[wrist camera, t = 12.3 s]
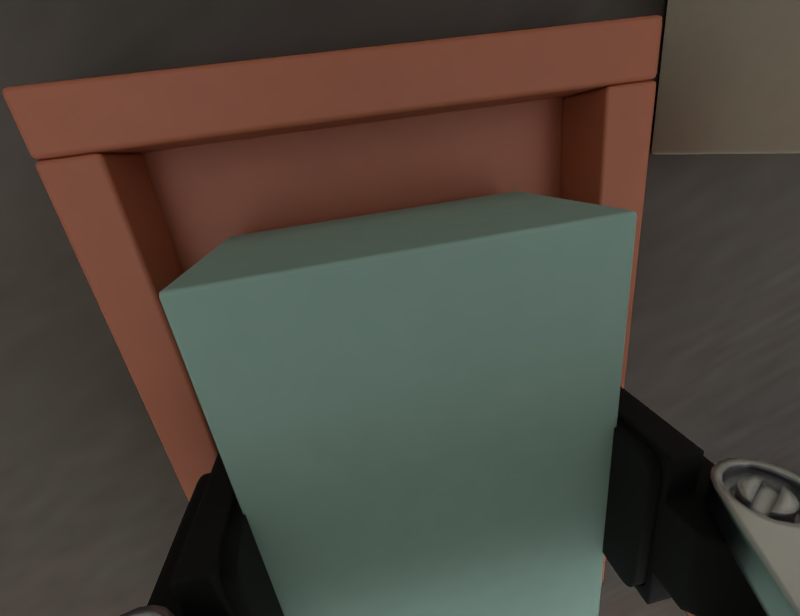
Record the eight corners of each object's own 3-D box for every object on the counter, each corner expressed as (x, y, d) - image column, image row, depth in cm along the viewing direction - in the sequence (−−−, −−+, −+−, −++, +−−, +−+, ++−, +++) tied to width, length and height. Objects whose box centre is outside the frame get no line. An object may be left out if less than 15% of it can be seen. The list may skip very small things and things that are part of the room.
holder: (82, 104, 7) (-5, 86, 6) (590, 44, 9) (665, 11, 7) (276, 600, 13) (267, 677, 11) (567, 525, 14) (604, 583, 12)
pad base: (227, 236, 8) (153, 292, 4) (518, 190, 8) (640, 210, 5) (328, 575, 11) (329, 742, 8) (523, 525, 12) (595, 660, 9)
